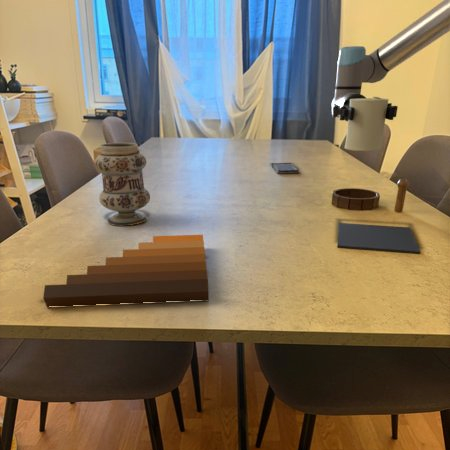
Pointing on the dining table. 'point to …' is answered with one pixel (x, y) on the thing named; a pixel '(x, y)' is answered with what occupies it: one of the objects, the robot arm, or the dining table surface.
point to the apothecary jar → (123, 182)
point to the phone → (284, 168)
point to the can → (366, 124)
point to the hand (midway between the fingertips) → (372, 113)
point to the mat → (377, 238)
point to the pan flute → (140, 276)
